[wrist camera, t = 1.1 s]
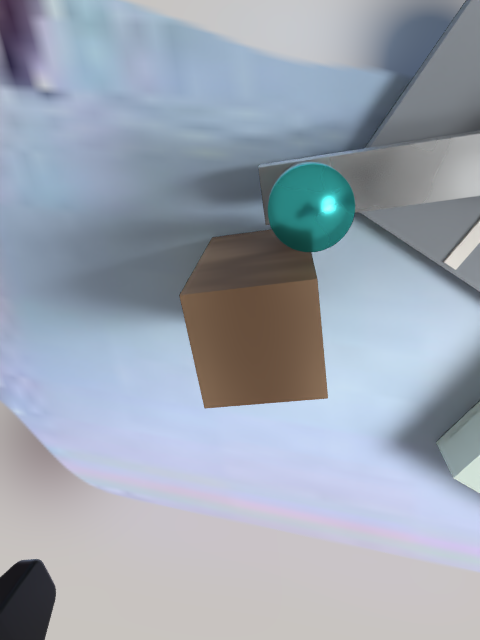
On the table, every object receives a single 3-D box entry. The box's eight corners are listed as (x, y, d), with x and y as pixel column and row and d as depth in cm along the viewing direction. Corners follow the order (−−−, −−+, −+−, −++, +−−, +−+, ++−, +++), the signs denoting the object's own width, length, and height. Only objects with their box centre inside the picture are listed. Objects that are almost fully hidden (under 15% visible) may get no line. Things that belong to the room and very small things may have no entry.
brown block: (304, 224, 19) (317, 278, 12) (312, 311, 20) (328, 398, 14) (212, 237, 19) (179, 295, 13) (227, 320, 21) (204, 408, 15)
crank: (619, 81, 15) (779, 64, 10) (601, 191, 16) (734, 221, 12) (257, 141, 17) (248, 150, 12) (269, 235, 18) (265, 277, 13)
